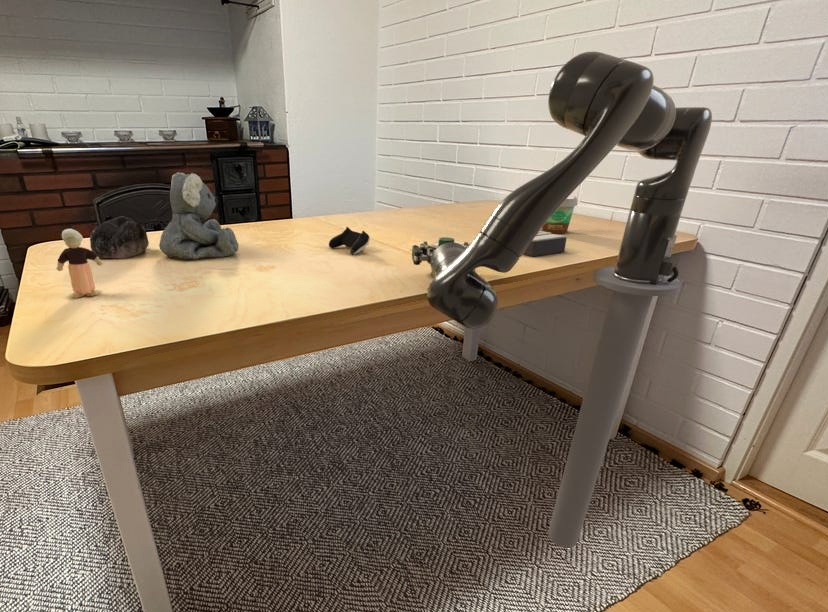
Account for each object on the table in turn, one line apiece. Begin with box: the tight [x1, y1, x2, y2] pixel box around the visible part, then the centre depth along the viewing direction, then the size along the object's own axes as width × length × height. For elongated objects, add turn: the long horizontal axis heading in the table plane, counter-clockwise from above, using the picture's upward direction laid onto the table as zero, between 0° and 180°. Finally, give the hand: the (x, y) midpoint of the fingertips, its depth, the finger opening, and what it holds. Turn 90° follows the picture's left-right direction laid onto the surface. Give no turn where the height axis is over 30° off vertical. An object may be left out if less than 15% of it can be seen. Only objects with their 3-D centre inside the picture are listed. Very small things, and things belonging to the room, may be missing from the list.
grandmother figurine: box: [56, 228, 104, 299], centre depth 88 cm, size 8×4×13 cm, turn 126°
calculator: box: [522, 231, 567, 257], centre depth 122 cm, size 11×4×15 cm
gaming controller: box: [328, 226, 371, 255], centre depth 121 cm, size 11×4×7 cm
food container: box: [540, 195, 578, 235], centre depth 137 cm, size 12×6×10 cm, turn 95°
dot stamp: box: [430, 236, 455, 278], centre depth 99 cm, size 5×5×8 cm
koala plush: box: [158, 171, 239, 260], centre depth 115 cm, size 17×18×20 cm
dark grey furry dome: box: [89, 215, 150, 259], centre depth 118 cm, size 13×14×10 cm
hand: (445, 246), depth 100 cm, fingers open, 8 cm apart
